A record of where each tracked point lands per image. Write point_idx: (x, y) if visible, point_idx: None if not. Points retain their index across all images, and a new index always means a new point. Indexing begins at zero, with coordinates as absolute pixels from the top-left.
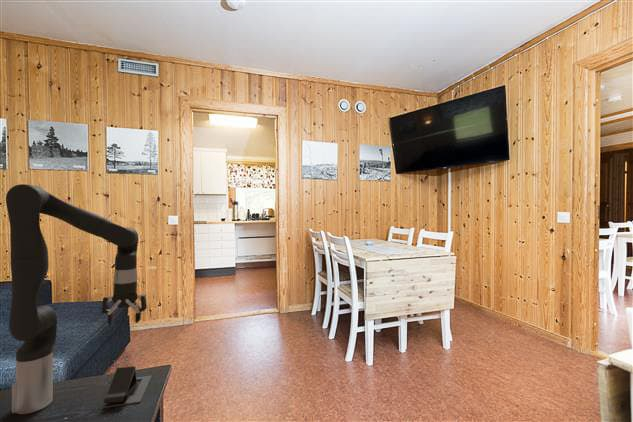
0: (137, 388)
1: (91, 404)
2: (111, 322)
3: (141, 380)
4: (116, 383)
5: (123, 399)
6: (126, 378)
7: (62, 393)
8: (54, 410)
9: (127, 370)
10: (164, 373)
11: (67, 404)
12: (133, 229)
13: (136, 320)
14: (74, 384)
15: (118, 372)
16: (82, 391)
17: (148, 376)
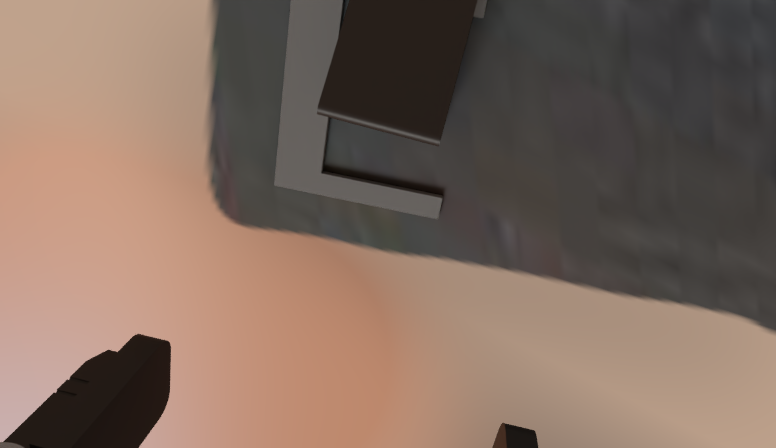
0: None
1: (570, 17)
2: (506, 442)
3: (323, 153)
4: (436, 17)
5: None
6: (373, 30)
7: (726, 223)
8: (761, 47)
9: (367, 90)
10: (212, 188)
11: (696, 83)
12: None
13: (129, 355)
14: (670, 292)
15: (428, 97)
16: (626, 194)
17: (290, 181)
